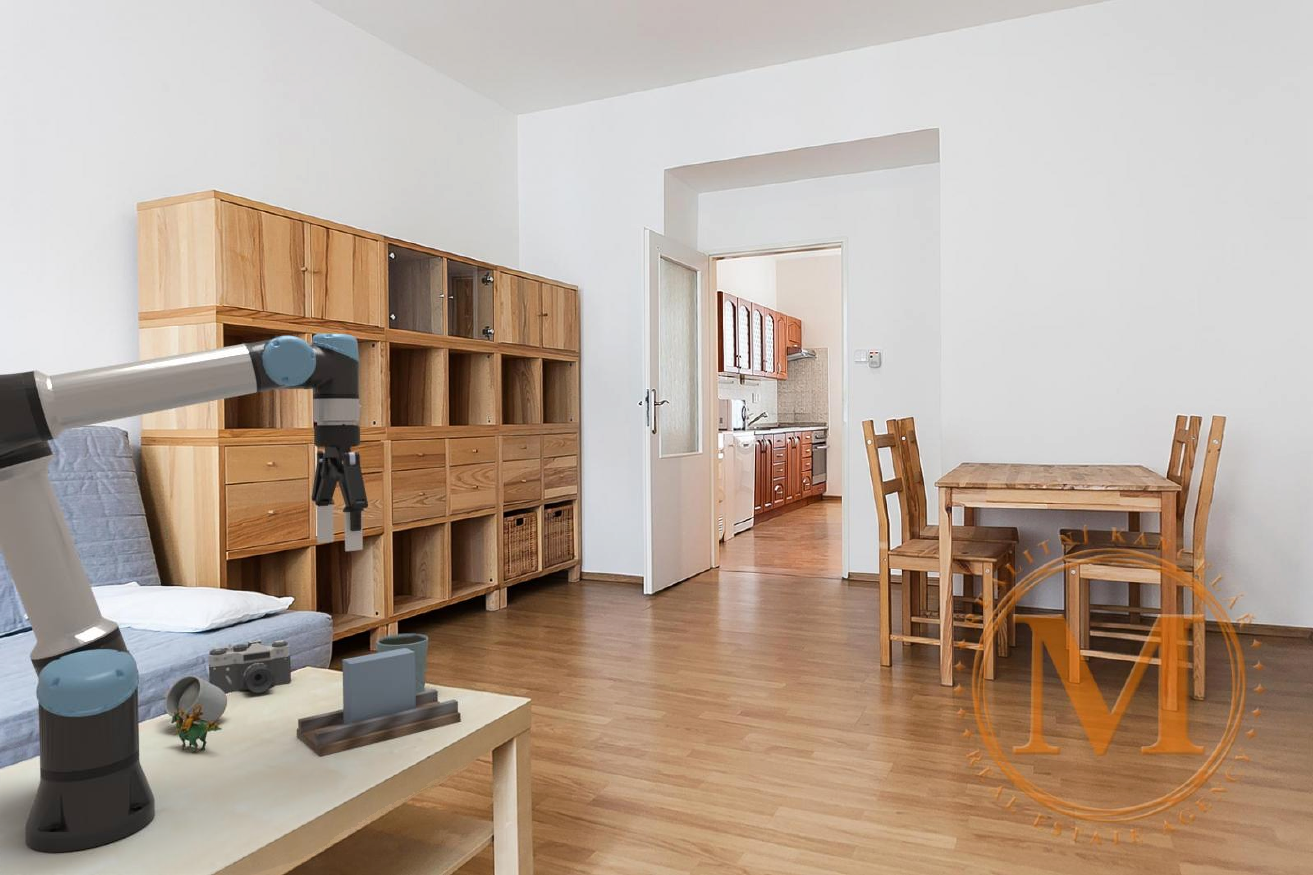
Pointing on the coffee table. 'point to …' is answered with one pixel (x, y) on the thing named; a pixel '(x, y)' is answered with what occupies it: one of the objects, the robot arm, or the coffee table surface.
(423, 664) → the grey green cup
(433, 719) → the door track
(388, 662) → the door panel
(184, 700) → the ceramic mug
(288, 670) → the camera
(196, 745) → the figurine
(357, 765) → the coffee table surface
